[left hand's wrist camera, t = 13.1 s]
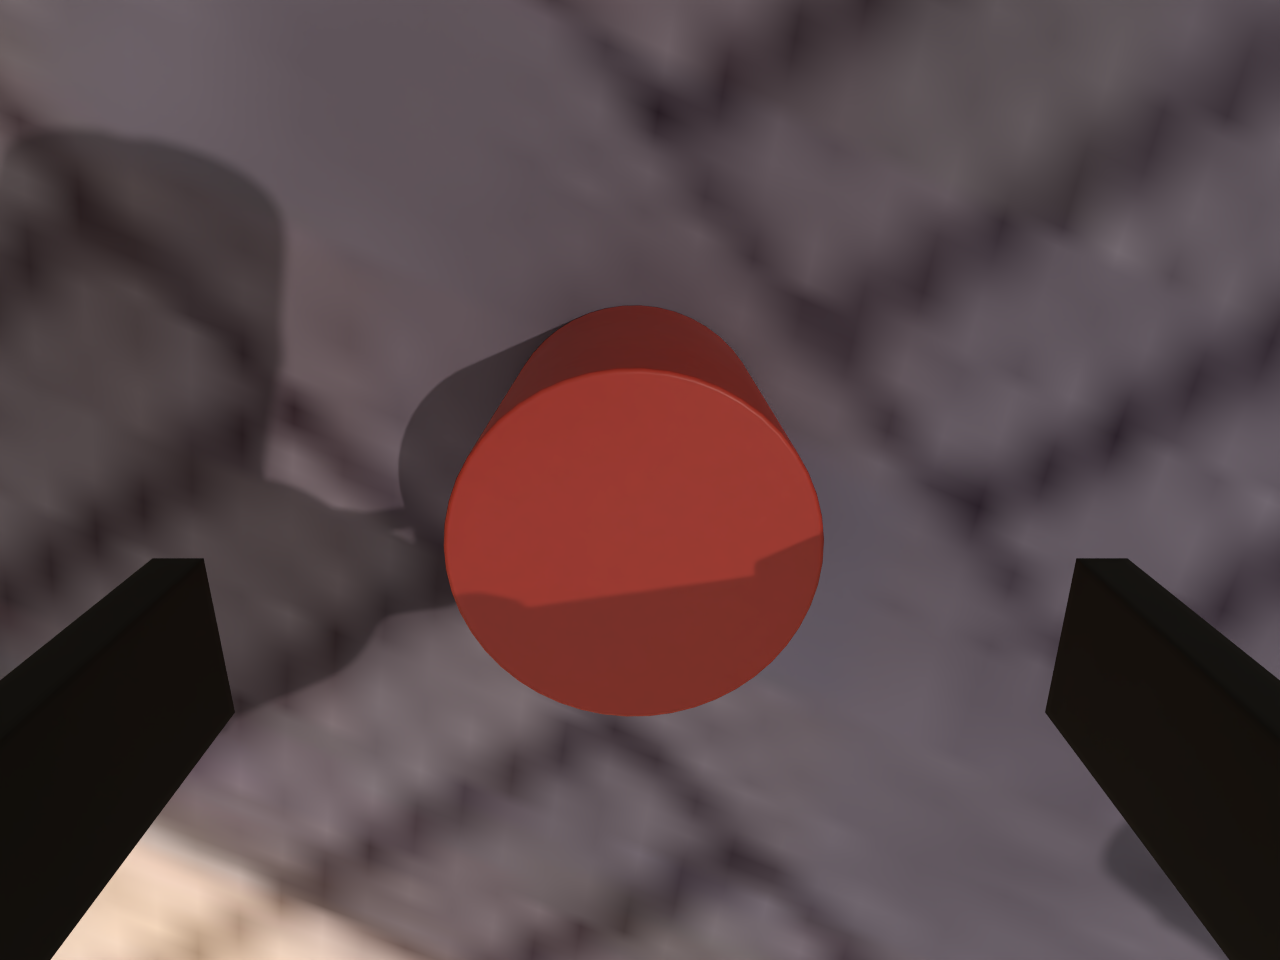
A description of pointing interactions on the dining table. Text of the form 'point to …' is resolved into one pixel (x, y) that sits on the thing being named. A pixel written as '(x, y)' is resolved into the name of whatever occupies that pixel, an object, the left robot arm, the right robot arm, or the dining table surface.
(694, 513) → the canister
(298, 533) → the dining table surface
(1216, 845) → the left robot arm
